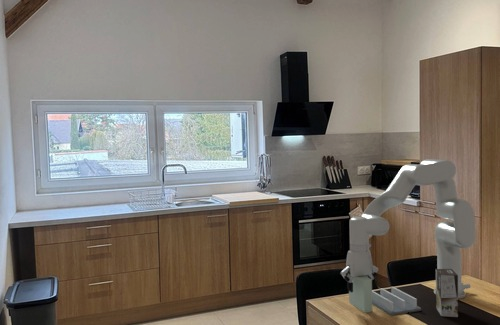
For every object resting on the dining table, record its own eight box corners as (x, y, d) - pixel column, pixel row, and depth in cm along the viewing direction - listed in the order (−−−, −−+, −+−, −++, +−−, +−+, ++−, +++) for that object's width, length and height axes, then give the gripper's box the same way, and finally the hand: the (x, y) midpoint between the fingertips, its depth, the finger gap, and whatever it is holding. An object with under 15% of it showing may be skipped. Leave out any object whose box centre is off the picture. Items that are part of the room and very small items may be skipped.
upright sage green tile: (356, 301, 187) (356, 271, 187) (372, 311, 176) (371, 279, 175) (349, 302, 186) (348, 272, 186) (364, 312, 175) (363, 280, 174)
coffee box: (458, 317, 168) (458, 275, 167) (440, 316, 169) (440, 274, 168) (452, 308, 177) (452, 268, 176) (435, 307, 178) (435, 268, 177)
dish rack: (394, 295, 193) (393, 285, 192) (421, 310, 175) (420, 299, 175) (365, 299, 189) (365, 289, 188) (390, 315, 171) (390, 304, 171)
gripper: (373, 243, 186) (373, 284, 187) (335, 247, 181) (336, 289, 182) (383, 247, 179) (383, 290, 180) (344, 251, 174) (345, 295, 175)
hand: (360, 289), depth 181 cm, fingers open, 8 cm apart
